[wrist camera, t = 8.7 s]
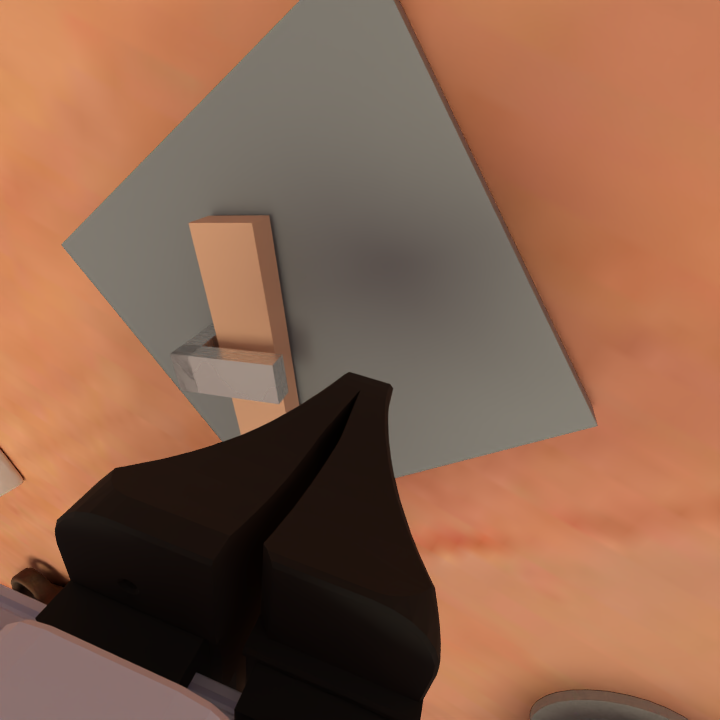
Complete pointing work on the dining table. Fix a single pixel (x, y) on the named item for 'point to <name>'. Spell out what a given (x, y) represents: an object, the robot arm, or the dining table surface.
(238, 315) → the link
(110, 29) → the dining table surface
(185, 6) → the dining table surface
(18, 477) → the spoon rest
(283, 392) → the keeper
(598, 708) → the mate gourd
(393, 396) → the board
